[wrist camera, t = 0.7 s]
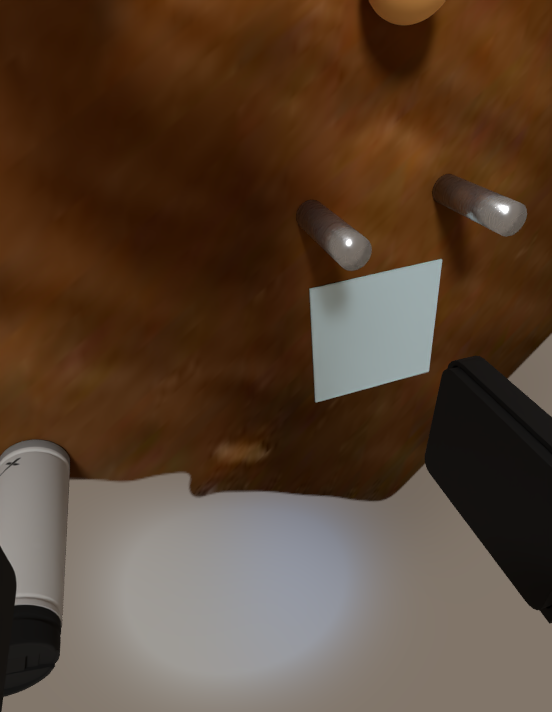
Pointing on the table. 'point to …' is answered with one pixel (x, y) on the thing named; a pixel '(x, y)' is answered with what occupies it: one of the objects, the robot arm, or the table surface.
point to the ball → (405, 10)
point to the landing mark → (373, 329)
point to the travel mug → (34, 555)
